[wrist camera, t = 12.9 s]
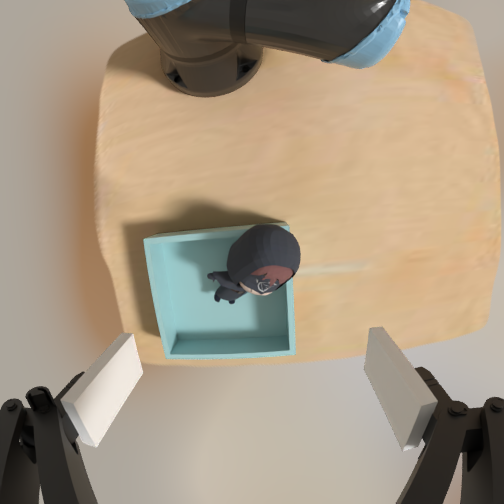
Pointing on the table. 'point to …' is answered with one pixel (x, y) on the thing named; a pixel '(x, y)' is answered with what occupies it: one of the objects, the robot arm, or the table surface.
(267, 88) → the table surface
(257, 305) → the bin
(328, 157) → the table surface
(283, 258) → the toy
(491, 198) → the table surface
